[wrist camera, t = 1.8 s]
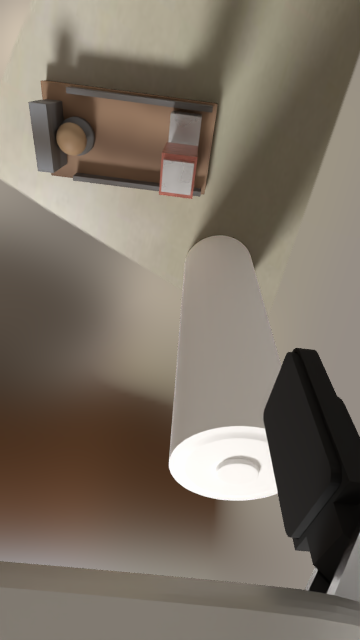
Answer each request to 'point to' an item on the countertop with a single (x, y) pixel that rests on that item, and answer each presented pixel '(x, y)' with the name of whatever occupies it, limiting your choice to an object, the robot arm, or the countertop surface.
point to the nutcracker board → (112, 134)
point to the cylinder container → (223, 376)
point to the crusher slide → (180, 155)
